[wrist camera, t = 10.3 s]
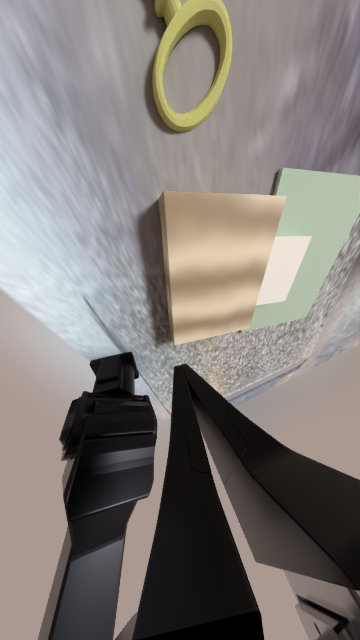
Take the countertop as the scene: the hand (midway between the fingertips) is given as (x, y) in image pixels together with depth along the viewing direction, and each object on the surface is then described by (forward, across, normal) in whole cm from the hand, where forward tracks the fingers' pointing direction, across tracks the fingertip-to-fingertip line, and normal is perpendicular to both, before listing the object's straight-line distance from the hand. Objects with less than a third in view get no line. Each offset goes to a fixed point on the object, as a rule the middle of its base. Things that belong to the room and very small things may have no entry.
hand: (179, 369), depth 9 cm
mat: (+13, -26, -2) cm, 29 cm away
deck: (+13, -9, -2) cm, 16 cm away
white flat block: (+12, -20, -2) cm, 23 cm away
